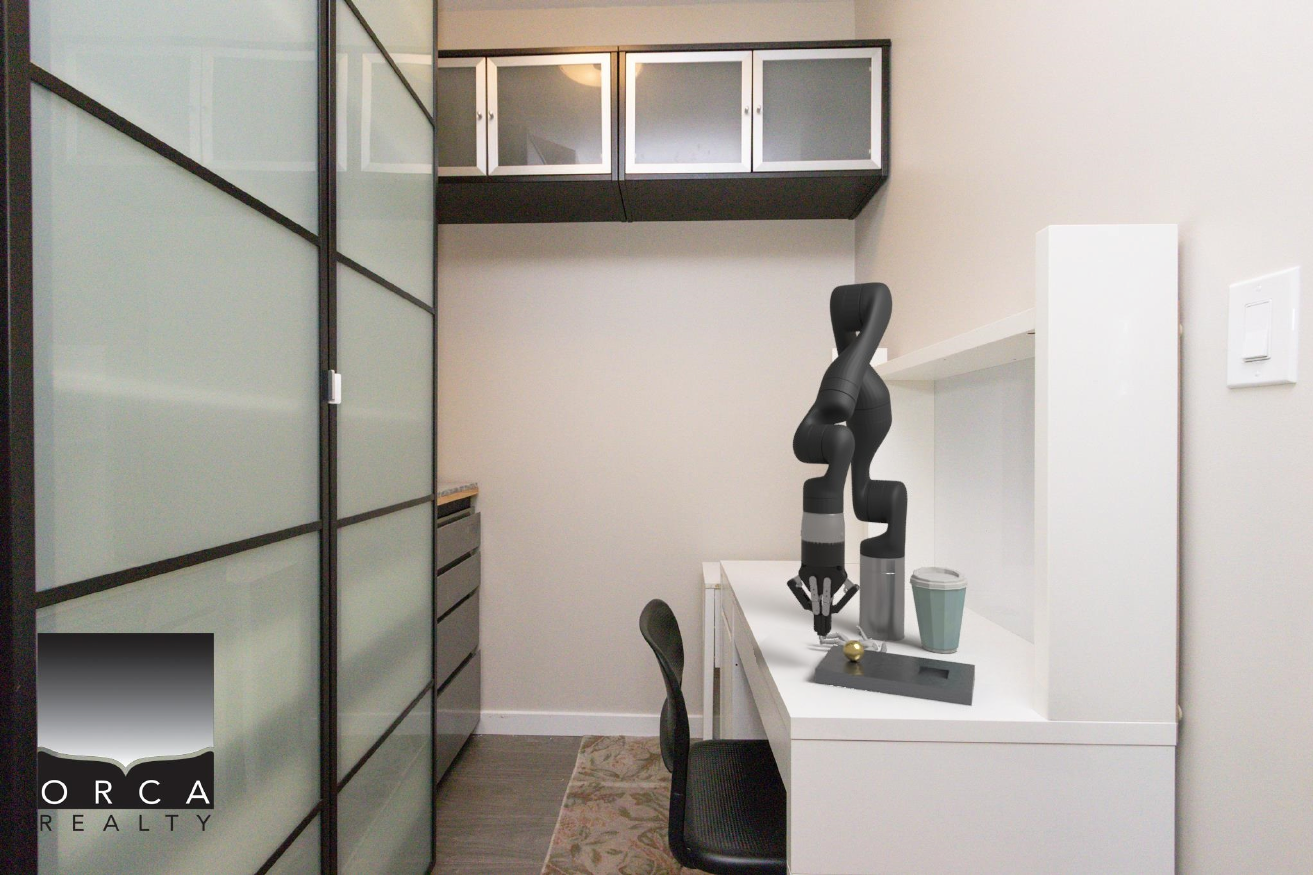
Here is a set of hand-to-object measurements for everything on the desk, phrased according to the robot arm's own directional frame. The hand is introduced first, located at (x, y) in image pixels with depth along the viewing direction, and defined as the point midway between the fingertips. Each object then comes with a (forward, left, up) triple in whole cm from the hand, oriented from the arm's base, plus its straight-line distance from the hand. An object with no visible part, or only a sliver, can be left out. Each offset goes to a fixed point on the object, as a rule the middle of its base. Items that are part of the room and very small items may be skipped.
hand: (822, 634), depth 125 cm
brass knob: (0, +5, -2) cm, 6 cm away
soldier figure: (-12, -3, -5) cm, 14 cm away
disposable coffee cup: (-22, +17, -6) cm, 29 cm away
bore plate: (0, +12, -6) cm, 14 cm away
